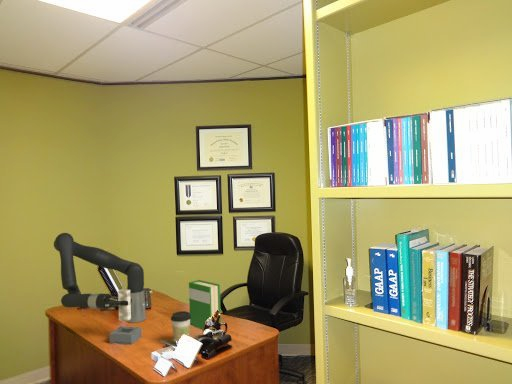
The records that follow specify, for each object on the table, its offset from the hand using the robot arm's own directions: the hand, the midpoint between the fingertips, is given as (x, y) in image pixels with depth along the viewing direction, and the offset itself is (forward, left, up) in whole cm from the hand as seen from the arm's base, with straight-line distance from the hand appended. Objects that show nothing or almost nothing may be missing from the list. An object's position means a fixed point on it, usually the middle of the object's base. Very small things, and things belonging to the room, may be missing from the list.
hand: (129, 302), depth 193 cm
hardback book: (-39, +6, -20) cm, 44 cm away
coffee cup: (-19, +21, -20) cm, 35 cm away
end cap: (+2, -2, -20) cm, 20 cm away
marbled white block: (+2, -2, -9) cm, 9 cm away
